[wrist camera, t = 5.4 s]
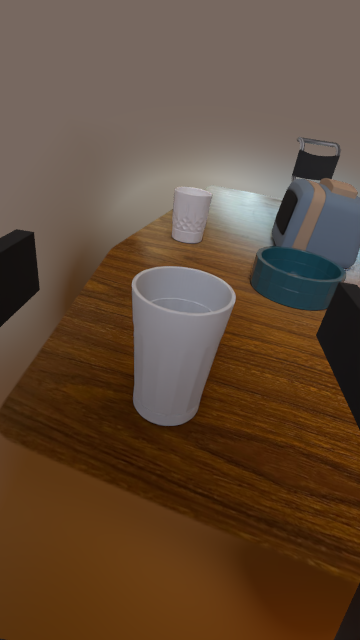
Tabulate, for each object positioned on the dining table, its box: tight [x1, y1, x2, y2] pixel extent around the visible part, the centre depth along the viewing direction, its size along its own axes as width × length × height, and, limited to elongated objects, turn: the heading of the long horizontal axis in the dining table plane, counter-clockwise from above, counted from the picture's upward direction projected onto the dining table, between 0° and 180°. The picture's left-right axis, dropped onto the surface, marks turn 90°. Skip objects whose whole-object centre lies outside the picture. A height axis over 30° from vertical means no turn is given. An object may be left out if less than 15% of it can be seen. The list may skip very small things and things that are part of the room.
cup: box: [132, 266, 236, 426], centre depth 28 cm, size 8×8×12 cm
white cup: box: [172, 187, 213, 243], centre depth 71 cm, size 8×8×10 cm
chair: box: [292, 137, 341, 181], centre depth 89 cm, size 13×17×22 cm
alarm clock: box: [272, 178, 360, 268], centre depth 72 cm, size 16×16×16 cm
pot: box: [250, 246, 346, 310], centre depth 56 cm, size 15×15×5 cm
